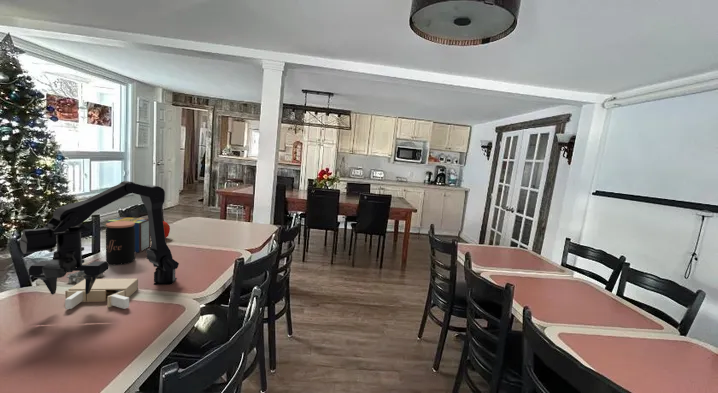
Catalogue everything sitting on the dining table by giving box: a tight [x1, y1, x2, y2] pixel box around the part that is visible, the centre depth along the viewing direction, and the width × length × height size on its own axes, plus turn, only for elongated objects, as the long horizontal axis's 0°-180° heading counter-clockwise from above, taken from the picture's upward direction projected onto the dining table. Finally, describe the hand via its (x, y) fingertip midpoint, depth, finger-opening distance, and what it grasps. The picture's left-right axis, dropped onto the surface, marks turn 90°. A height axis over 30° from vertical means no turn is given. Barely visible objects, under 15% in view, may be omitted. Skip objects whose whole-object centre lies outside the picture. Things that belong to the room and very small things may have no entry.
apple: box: [163, 220, 171, 239], centre depth 184 cm, size 10×10×12 cm
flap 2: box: [106, 290, 130, 310], centre depth 106 cm, size 6×7×4 cm
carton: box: [67, 278, 139, 303], centre depth 112 cm, size 17×10×4 cm, turn 103°
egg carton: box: [65, 271, 106, 284], centre depth 124 cm, size 11×8×4 cm
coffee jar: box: [105, 221, 136, 266], centre depth 144 cm, size 11×11×18 cm
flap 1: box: [64, 290, 87, 310], centre depth 103 cm, size 6×7×4 cm
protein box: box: [106, 216, 151, 253], centre depth 162 cm, size 10×15×16 cm
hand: (70, 293), depth 101 cm, fingers open, 9 cm apart
